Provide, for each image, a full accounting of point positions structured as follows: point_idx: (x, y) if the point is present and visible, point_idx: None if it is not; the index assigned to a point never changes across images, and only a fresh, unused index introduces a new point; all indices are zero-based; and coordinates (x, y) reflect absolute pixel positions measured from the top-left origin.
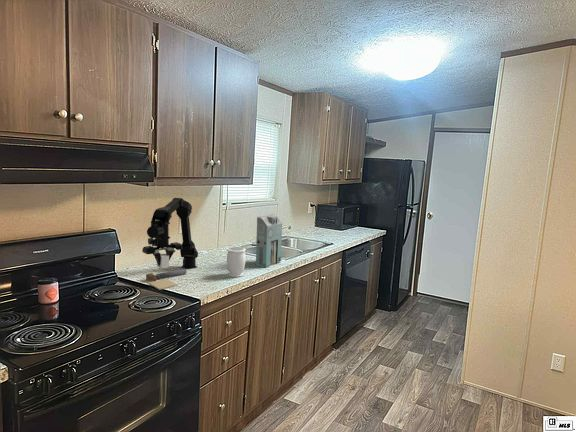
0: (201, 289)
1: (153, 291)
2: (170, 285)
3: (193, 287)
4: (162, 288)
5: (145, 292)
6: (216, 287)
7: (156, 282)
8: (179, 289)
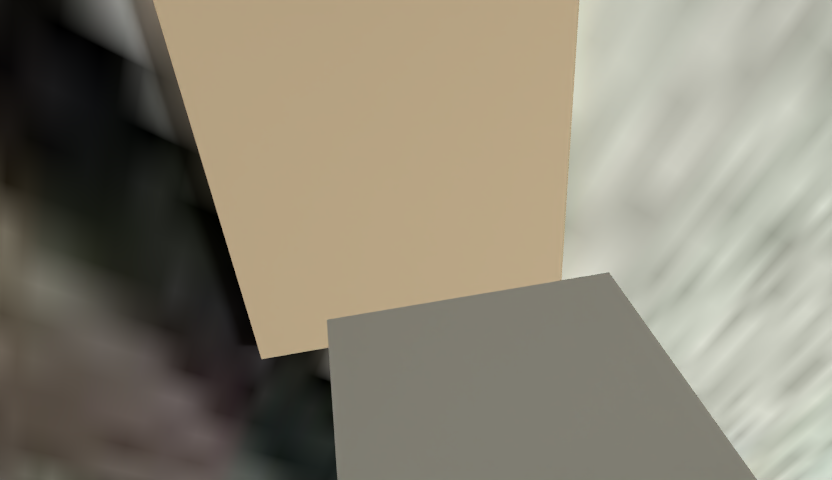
0: None
1: (168, 370)
2: None
3: None
4: (312, 345)
5: (44, 368)
6: (808, 468)
7: (311, 53)
8: None
